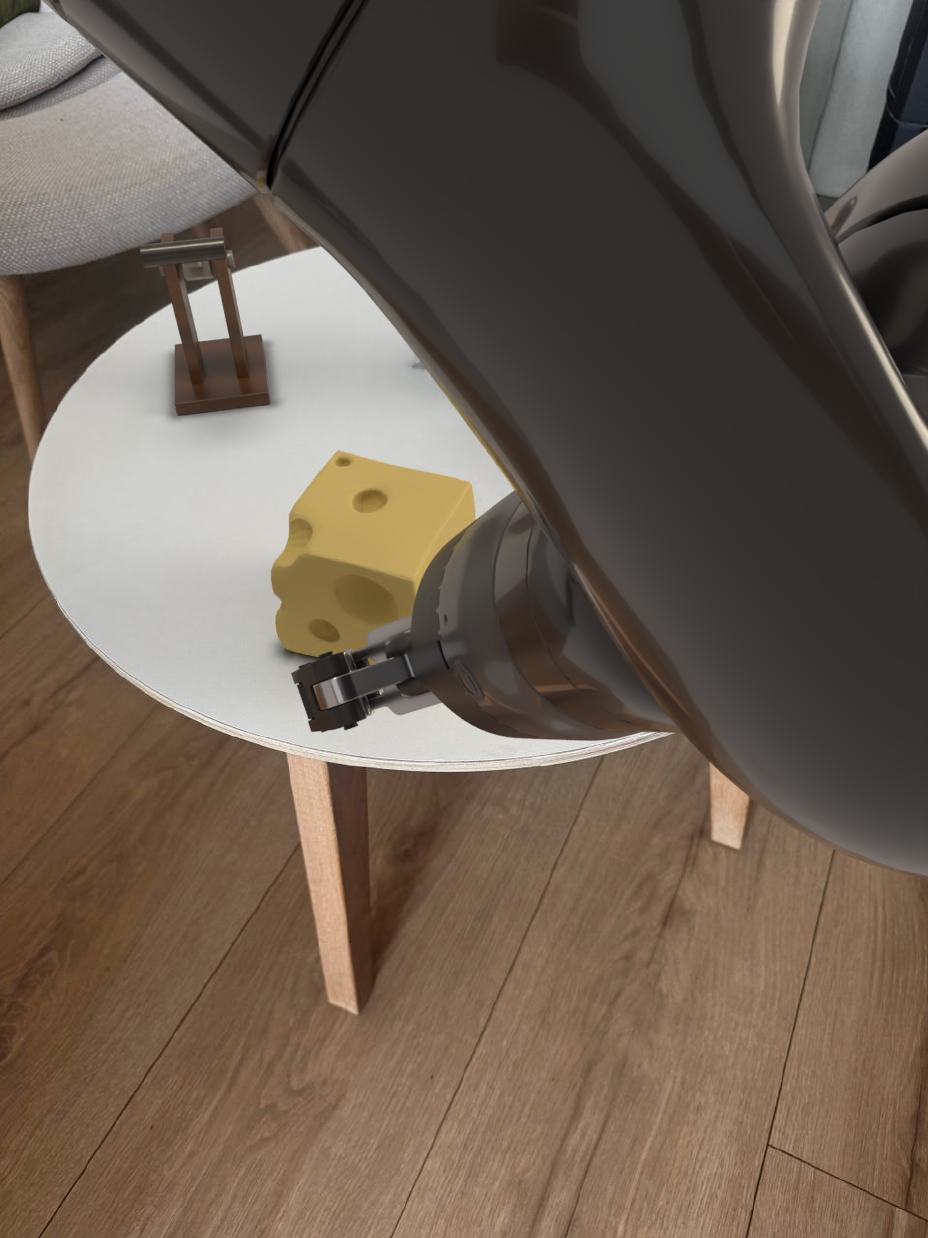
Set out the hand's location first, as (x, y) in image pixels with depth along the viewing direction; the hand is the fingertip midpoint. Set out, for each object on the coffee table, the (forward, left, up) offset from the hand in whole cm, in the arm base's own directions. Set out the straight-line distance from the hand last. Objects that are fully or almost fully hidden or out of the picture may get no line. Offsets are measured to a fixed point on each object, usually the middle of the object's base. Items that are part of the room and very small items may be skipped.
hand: (441, 651), depth 45 cm
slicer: (-11, +51, -16) cm, 54 cm away
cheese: (-1, +18, -16) cm, 24 cm away
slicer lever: (-11, +46, -3) cm, 48 cm away
